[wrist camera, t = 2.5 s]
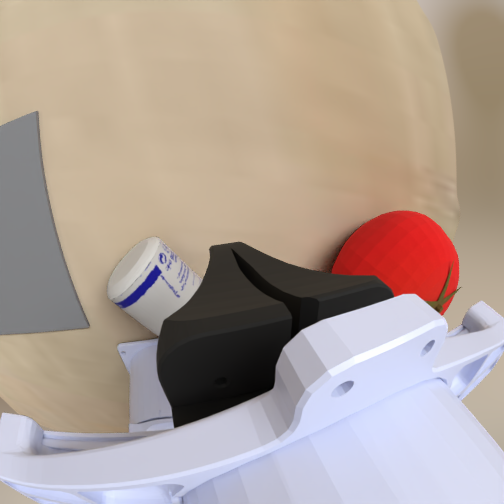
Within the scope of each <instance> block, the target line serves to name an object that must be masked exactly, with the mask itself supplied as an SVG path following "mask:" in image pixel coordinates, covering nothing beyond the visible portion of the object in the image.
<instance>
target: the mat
mask: <svg viewBox="0 0 504 504" xmlns="http://www.w3.org/2000/svg"><path fill="white" fill-rule="evenodd" d="M79 328H89V323H88V320H87V318H86V316H85V313H84V311H83V308H82V306H81V304H80V301H79V299H78V296H77V293H76V291H75V288H74V285H73V283H72V280H71V277H70V274H69V271H68V268H67V265H66V262H65V259H64V256H63V252H62V249H61V246H60V242H59V238H58V235H57V231H56V227H55V223H54V219H53V215H52V211H51V206H50V201H49V197H48V191H47V186H46V180H45V174H44V168H43V161H42V153H41V144H40V133H39V118H38V111H35V112H33V113H30V114H27V115H25V116H22V117H20V118H18V119H15V120H13V121H11V122H8V123H6V124H4V125H2V126H0V335H2V334H20V333H35V332H47V331H59V330H69V329H79Z"/></svg>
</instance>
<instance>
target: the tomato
mask: <svg viewBox="0 0 504 504" xmlns="http://www.w3.org/2000/svg"><path fill="white" fill-rule="evenodd" d="M331 273H332V274H342V275H375V276H377V277H378V278H379V279H380V280H381V281H383V282H384V283H385V284H386V285H387V286H388V287H390V288H391V289H392V291H393V294H394V297H397V296H399V295H402V294H416V295H417V296H419V297H420V298H421V299H422V300H424V301H425V302H426V303H427V304H428V305H430V306H431V307H432V308H433V309H434V310H436V311H437V312H438V313H439V314H440V315H441V316H442V315H443V314H444V312H445V311H446V310H447V308H448V307H449V305H450V303H451V301H452V299H453V297H454V295H455V293H456V292H457V291H458V290H459V289H460V288H461V287H460V288H459V289H457V285H458V280H459V260H458V255H457V252H456V250H455V248H454V245H453V244H452V242H451V240H450V239H449V238H448V236H447V235H446V234H445V232H444V231H443V230H442V228H441V227H440V226H439V225H438V224H437V223H435V222H434V221H433V220H432V219H430V218H429V217H427V216H426V215H423V214H420V213H418V212H413V211H394V212H389V213H385V214H382V215H380V216H378V217H376V218H374V219H372V220H370V221H368V222H366V223H365V224H364V225H362V226H361V227H359V228H358V229H357V230H356V231H355V232H354V233H353V234H352V235H351V236H350V238H349V239H348V240H347V241H346V242H345V244H344V246H343V247H342V249H341V251H340V253H339V255H338V257H337V259H336V261H335V263H334V265H333V268H332V272H331ZM456 289H457V290H456Z"/></svg>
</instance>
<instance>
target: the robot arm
mask: <svg viewBox="0 0 504 504" xmlns="http://www.w3.org/2000/svg"><path fill="white" fill-rule="evenodd" d="M209 250H210V261H209V265H208V268H207V271H206V273H205V276H204V278H203V280H202V282H201V284H200V286H199V287H198V289H197V290H196V292H195V293H194V295H193V296H192V297H191V299H190V300H189V301H188V302H187V303H186V304H185V305H184V306H182V307H181V308H180V309H179V310H177V311H176V312H174V313H173V314H172V315H170V316H169V317H167V318H166V319H164V321H163V324H162V327H161V331H160V335H159V338H158V339H151V340H144V341H136V342H128V343H120V344H118V346H117V350H118V352H119V354H120V356H121V358H122V360H123V362H124V364H125V366H126V368H127V370H128V372H129V374H130V394H129V413H130V424H129V433H71V432H56V431H45V430H43V429H42V428H41V427H40V426H39V424H38V423H37V422H36V421H34V420H33V419H32V418H30V417H28V416H24V415H18V414H11V413H2V416H1V420H0V481H2V482H3V483H5V484H6V485H8V486H9V487H11V488H13V489H14V490H16V491H18V492H19V493H21V494H23V495H25V496H26V497H28V498H30V499H32V500H34V501H36V502H38V503H40V504H504V452H503V451H502V449H501V448H500V447H499V446H498V444H497V443H496V442H495V441H494V439H493V438H492V437H491V436H490V435H489V433H488V432H487V431H486V430H485V429H484V427H483V426H482V425H481V424H480V423H479V421H478V420H477V419H476V418H475V417H474V416H473V414H472V413H471V412H470V411H469V410H468V409H467V407H466V406H465V405H464V404H463V403H462V402H461V401H462V399H464V398H465V397H466V396H467V395H468V394H469V393H470V392H471V391H472V390H473V389H474V388H475V387H476V386H477V385H478V384H479V383H480V381H482V379H484V377H486V376H487V374H488V373H489V372H490V371H491V370H492V369H493V368H494V366H495V365H496V363H497V361H498V360H499V358H500V357H501V355H502V354H503V352H504V318H503V317H502V316H501V315H499V314H498V313H497V312H496V311H494V310H493V309H492V308H491V307H489V306H488V305H487V304H486V303H484V302H483V301H479V302H478V303H476V304H475V305H473V306H472V307H470V308H469V309H468V311H467V312H466V314H465V316H464V318H463V321H462V324H461V325H459V326H458V327H456V328H455V329H453V330H452V331H450V332H448V325H447V322H446V320H445V318H444V317H442V316H441V315H440V314H439V313H438V312H437V311H436V310H434V309H433V308H432V307H431V306H430V305H428V304H427V303H426V302H425V301H424V300H422V299H421V298H420V297H419V296H417V295H416V294H402V295H399V296H397V297H394V294H393V291H392V289H391V288H390V287H388V286H387V285H386V284H385V283H384V282H383V281H381V280H380V279H379V278H378V277H377V276H375V275H342V274H332V273H325V272H319V271H314V270H309V269H305V268H301V267H298V266H295V265H291V264H288V263H285V262H283V261H280V260H278V259H275V258H273V257H271V256H269V255H266V254H264V253H262V252H260V251H258V250H256V249H254V248H252V247H250V246H248V245H246V244H244V243H242V242H234V243H228V244H221V245H214V246H211V247H210V249H209ZM447 332H448V333H447ZM122 351H125V352H122Z"/></svg>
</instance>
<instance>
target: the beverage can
mask: <svg viewBox="0 0 504 504" xmlns="http://www.w3.org/2000/svg"><path fill="white" fill-rule="evenodd" d="M201 282H202V279H201V278H200V277H199V276H198V275H197V274H196V273H195V272H194V271H193V270H192V269H191V268H189V267H188V266H187V265H186V264H185V263H184V262H183V261H182V260H181V259H180V258H179V257H178V256H177V255H176V254H175V253H174V252H173V251H172V250H171V249H170V248H169V247H168V246H167V245H166V244H165V243H164V242H163V241H162V240H161V239H160V238H159V237H150V238H147V239H144V240H142V241H141V242H139V243H138V244H136V245H135V246H134V247H133V248H132V249H131V250H130V251H129V252H128V253H127V254H126V255H125V256H124V257H123V258H122V260H121V261H120V262H119V263H118V265H117V266H116V268H115V269H114V271H113V273H112V274H111V277H110V279H109V282H108V286H107V295H108V298H109V299H110V300H111V301H112V302H114V303H115V304H116V305H117V306H119V307H120V308H121V309H122V310H124V311H125V312H126V313H128V314H129V315H130V316H131V317H133V318H134V319H135V320H137V321H138V322H139V323H141V324H142V325H143V326H145V327H146V328H147V329H149V330H150V331H152V332H153V333H154V334H156V335H157V336H159V335H160V331H161V327H162V324H163V321H164V319H166V318H167V317H169V316H170V315H172V314H173V313H174V312H176V311H177V310H179V309H180V308H181V307H182V306H184V305H185V304H186V303H187V302H188V301H189V300H190V299H191V297H192V296H193V295H194V293H195V292H196V290H197V289H198V287H199V286H200V284H201Z"/></svg>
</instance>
